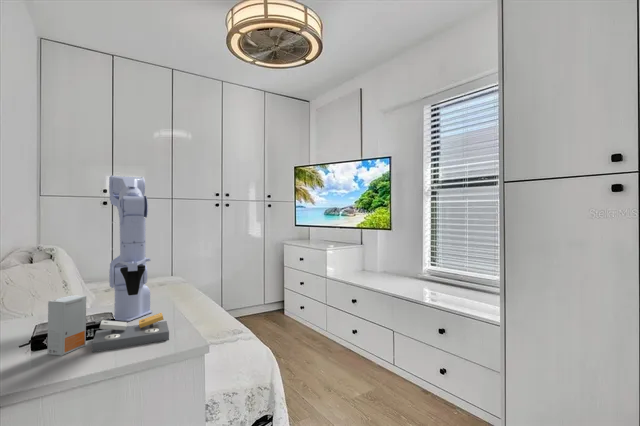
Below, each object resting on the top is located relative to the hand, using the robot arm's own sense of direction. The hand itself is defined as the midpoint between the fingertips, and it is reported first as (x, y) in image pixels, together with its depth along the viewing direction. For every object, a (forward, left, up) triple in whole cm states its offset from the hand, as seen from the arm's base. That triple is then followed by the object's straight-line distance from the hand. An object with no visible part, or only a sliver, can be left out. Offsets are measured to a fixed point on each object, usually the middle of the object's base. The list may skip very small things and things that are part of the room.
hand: (133, 294), depth 86 cm
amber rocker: (-2, +4, -7) cm, 8 cm away
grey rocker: (+4, -2, -7) cm, 8 cm away
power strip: (+2, +3, -10) cm, 11 cm away
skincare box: (+12, -6, -11) cm, 17 cm away
